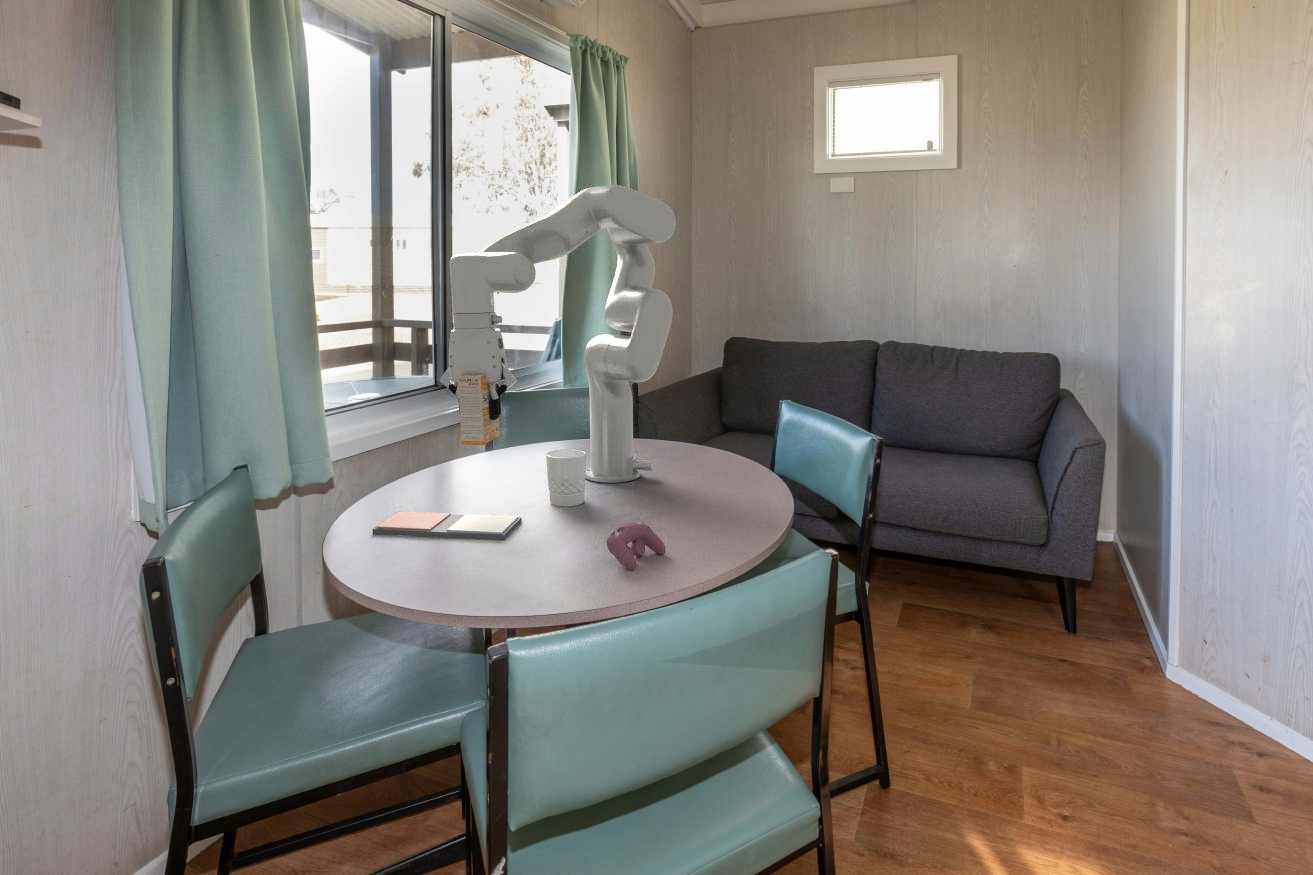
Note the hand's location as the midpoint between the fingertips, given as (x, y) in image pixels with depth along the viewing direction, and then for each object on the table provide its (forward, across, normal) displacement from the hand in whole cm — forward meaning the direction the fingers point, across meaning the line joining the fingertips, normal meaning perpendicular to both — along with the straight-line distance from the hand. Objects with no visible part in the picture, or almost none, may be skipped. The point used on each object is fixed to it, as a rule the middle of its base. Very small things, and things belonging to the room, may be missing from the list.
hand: (480, 417), depth 152 cm
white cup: (+19, -14, -6) cm, 24 cm away
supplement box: (+5, 0, 0) cm, 5 cm away
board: (+18, +2, +13) cm, 22 cm away
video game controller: (+18, -34, +23) cm, 45 cm away
